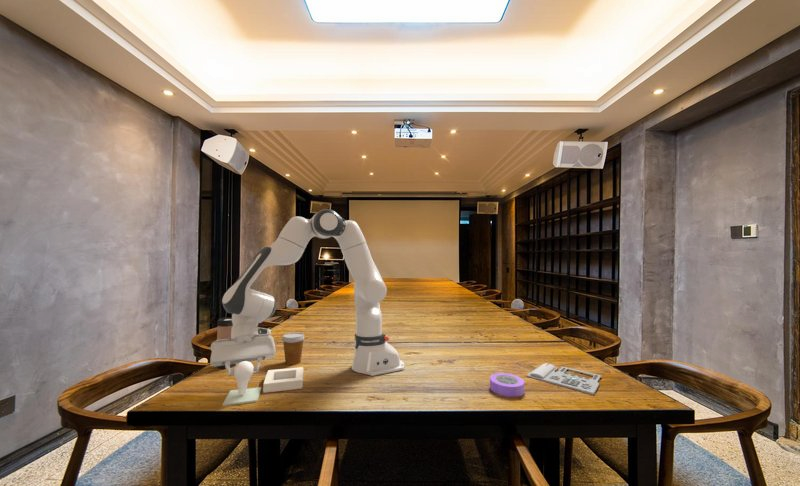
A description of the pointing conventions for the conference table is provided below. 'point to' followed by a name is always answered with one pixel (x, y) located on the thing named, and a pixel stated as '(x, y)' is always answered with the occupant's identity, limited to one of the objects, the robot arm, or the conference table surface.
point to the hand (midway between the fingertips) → (243, 373)
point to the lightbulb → (243, 375)
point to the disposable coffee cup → (293, 347)
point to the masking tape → (507, 384)
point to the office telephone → (566, 378)
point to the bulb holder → (283, 379)
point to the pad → (242, 396)
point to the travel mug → (224, 333)
